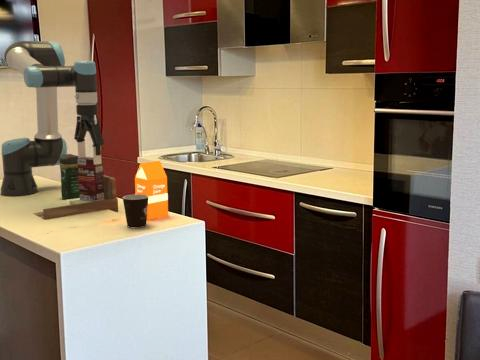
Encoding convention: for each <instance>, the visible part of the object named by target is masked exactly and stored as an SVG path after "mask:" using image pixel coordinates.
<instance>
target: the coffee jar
mask: <svg viewBox="0 0 480 360" xmlns="http://www.w3.org/2000/svg"><path fill="white" fill-rule="evenodd" d="M77 159H78V155H76V154H71V153H67V154H65V155H62V156H61V157H60V160H59V163H60V165H59V167H60V169H59V170H60V187H61V188H60V190H61V191H60V192H61V198H62V199H63V200H65V201H66V200H67V201H70V200H73V199H74V200H77V199H80V198H79V181H78V163H77Z"/></svg>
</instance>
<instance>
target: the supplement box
mask: <svg viewBox="0 0 480 360" xmlns="http://www.w3.org/2000/svg"><path fill="white" fill-rule="evenodd" d="M77 163H78V181H79V198H78V199H79V200H86V201H93V202H94V201H100V200H104V180H103V175H104V161H103V158H102V157H101V163H102V164H96V165H94V160H93V157H92V156H91V157H90V156H86V157H82V158H78V159H77Z"/></svg>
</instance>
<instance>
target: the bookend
mask: <svg viewBox="0 0 480 360" xmlns="http://www.w3.org/2000/svg"><path fill="white" fill-rule="evenodd" d="M87 202H93V201H86V200H80V199H74V200H73V199H72V200H69V205H74V204H81V203H87Z"/></svg>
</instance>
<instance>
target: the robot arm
mask: <svg viewBox="0 0 480 360" xmlns="http://www.w3.org/2000/svg"><path fill="white" fill-rule="evenodd" d="M3 55H4V56H3V59H4V62H5V64H6V65H7V67H9V68H10V69H11V70H13V71H16V72H19V73H20V74H22V76H23V80H24V83H25V86H26V87H28V88H35V93H36V120H37V122H36V123H37V133H35V135H34V138H33V140H31V139H30V138H29V137H22V138H19V137H18V138H14V139H13V138H12V139H10V140H7V141H6V140H5V141H4V142H3V143H1V160H2V168H3V178H2V181H1V184H0V185H1V186H0V195H2V196H7V197H17V196H19V197H21V196H28V195H33V194H36V193H38V192H39V191H38V185H37V182H36V180H35V177H34V175H33V168H39V167H40V168H41V167H55V166H60V163H59V160H60V157H61V156H62V155H65V154H68V146H67V142H66V139H64V138H63V136H62V134H60V132H59V120H58V118H59V117H58V114H59V113H58V88H64V87H65V88H67V87H70V88H71V87H75V89H74V90H75V91H74V93H75V95H74V98H75V102H76V105H75V106H76V107H75V108H76V110H75V111H76V115H77V116H76V124H75V125H76V126H75V131H74V138H73V139H74V140H75V141H76V143H77V144H76V145H77V156H78V158H82V157H87V156H86V155H87V154H86V153H87V152H86V139H85V137H86V135H87V132H88V133H89V136H90V138H91V141H92V153H93V154H92V156H93V160H94V165H96V164H102V163H101V158H102V146H104V145H105V142H104V138H103V134H102V130H101V127H100V119H99V118H95V116H97V115H98V114H99V112H98V111H99V109H98V104H97V103H98V92H97V91H98V90H97V89H98V88H97V69H96V68H97V66H96V62H95V61H93V60H76V61H74V62H73V63H74V64H73V65H65V64H66V59H65V54H64V50H63V48H62V46H61V44H60V43H59V42H56V41H49V40H44V41H41V40H39V41H38V40H36V41H35V40H34V41H33V40H29V41H27V40H20V41H16V42H14V43H12V44H10V45H9V46H8V47H6V49H5V51H4V54H3Z"/></svg>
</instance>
